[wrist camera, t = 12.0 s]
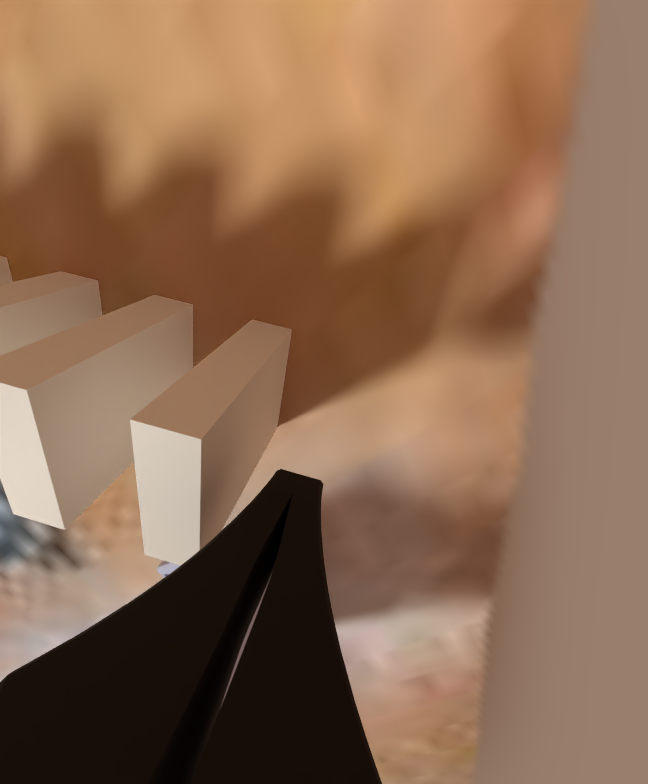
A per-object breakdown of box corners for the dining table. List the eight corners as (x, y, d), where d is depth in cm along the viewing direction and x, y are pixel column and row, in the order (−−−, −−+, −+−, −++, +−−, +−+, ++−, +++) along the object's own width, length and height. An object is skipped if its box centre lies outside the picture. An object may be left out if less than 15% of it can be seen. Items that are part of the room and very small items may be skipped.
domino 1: (98, 280, 16) (-135, 344, 9) (111, 381, 19) (-62, 491, 12) (61, 271, 16) (-197, 327, 9) (79, 372, 19) (-110, 476, 12)
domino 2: (193, 304, 16) (26, 390, 9) (193, 403, 18) (64, 530, 11) (154, 294, 16) (-40, 371, 9) (159, 394, 18) (13, 514, 11)
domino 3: (292, 329, 15) (201, 439, 8) (277, 426, 18) (199, 571, 11) (252, 319, 15) (129, 419, 8) (243, 417, 18) (144, 554, 11)
